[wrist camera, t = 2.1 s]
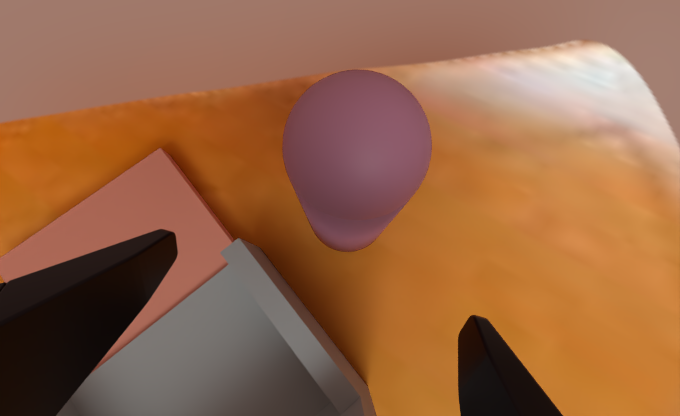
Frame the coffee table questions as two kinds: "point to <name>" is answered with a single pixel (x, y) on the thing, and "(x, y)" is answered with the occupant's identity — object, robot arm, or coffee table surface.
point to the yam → (355, 155)
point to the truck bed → (196, 314)
